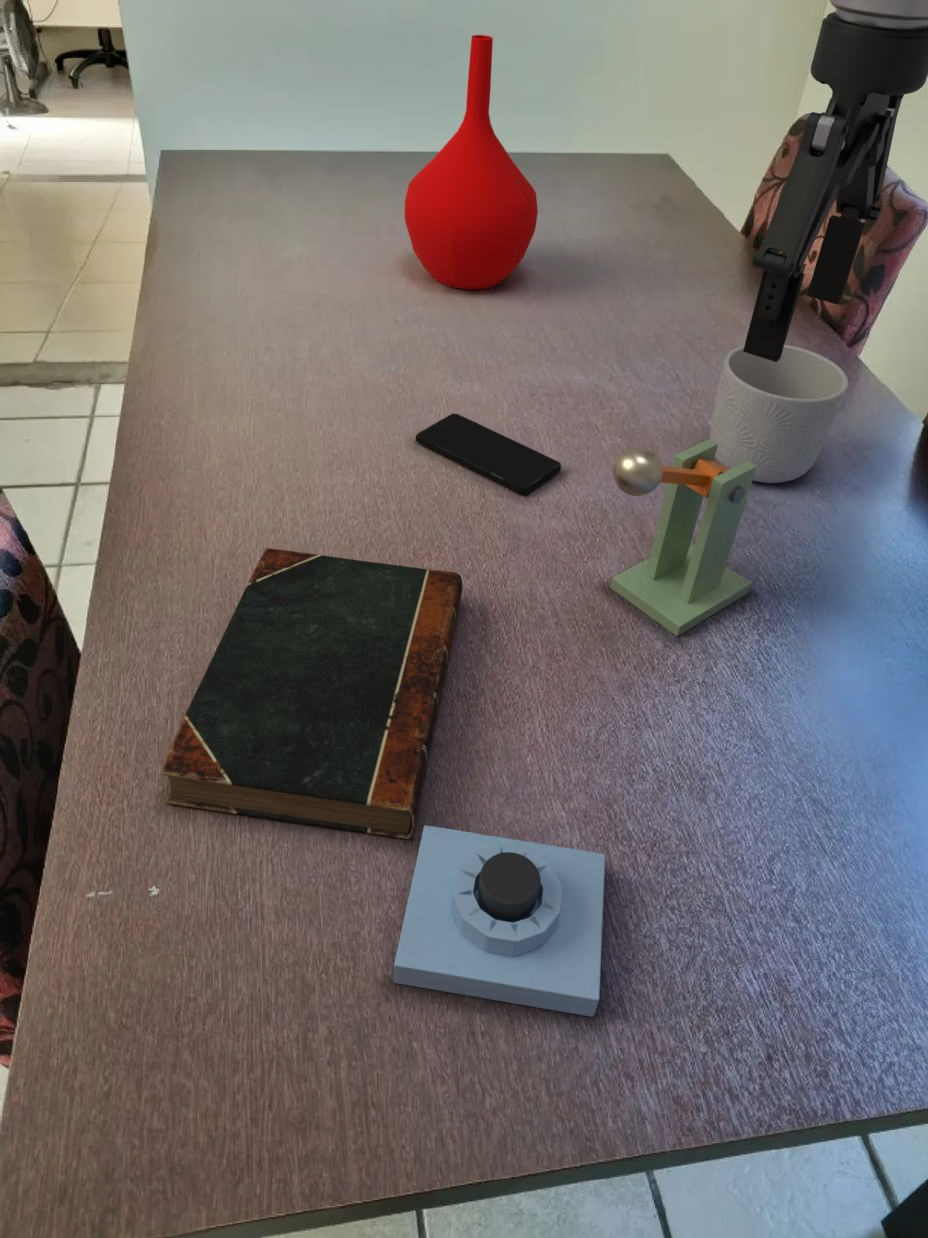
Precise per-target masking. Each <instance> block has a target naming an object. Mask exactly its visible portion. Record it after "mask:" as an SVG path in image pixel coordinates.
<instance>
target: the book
mask: <svg viewBox="0 0 928 1238" xmlns="http://www.w3.org/2000/svg"><path fill="white" fill-rule="evenodd" d="M462 593H463V579H462V576H461V575H460V574H459V573H458V572H455V571H447V570H446V571H445V570H436V569H429V568H422V567H421V568H420V567H413V566H405V565H397V564H389V563H381V562H374V561H366V560H359V559H352V558H346V557H345V558H344V557H338V556H337V557H336V556H330V555H322V554H315V553H307V552H301V551H294V550H293V551H292V550H286V549H280V548H279V549H278V548H271V547H270V548H269V547H267V548H264V550H263V552H262V554H261V556H260V558H259V560H258V562H257V563H256V565H255V568H254V569H253V572H252V574H251V575H250V578H249V581H248V582H247V585H246V587H245V589H244V591H243V593H242V595H241V597H240V599H239V602H238V603H237V606H236V607H235V609H234V612H233V613H232V616H231V618H230V620H229V622H228V624H227V626H226V628H225V630H224V633H223V635H222V636H221V639H220V641H219V643H218V645H217V647H216V649H215V651H214V653H213V656H212V658H211V660H210V662H209V664H208V666H207V669H206V670H205V672H204V675H203V676H202V679H201V681H200V683H199V685H198V687H197V689H196V691H195V693H194V696H192V697H193V698H192V699H191V702H190V703H189V706H188V708H187V710H186V712H185V714H184V715H183V716H184V717H183V719H182V721H181V722H180V725H179V727H178V729H177V731H176V733H175V735H174V737H173V739H172V741H171V744H170V746H169V748H168V751H167V752H166V755H165V758H164V761H163V763H162V765H161V768H160V770H159V775H160V776H164V777H167V778H168V780H169V787H170V788H169V789H170V790H169V792H168V794H167V797H166V799H165V801H164V803H165V804H167V805H175V806H181V807H182V806H183V807H189V808H195V809H203V810H208V811H214V812H215V811H216V812H222V813H227V814H228V813H229V814H235V815H241V816H249V817H254V818H261V819H262V818H263V819H269V820H274V821H281V822H288V823H294V824H303V825H311V826H317V827H324V828H330V829H337V830H345V831H353V832H358V833H366V834H372V835H379V836H385V837H389V838H390V837H391V838H395V839H406V840H409V839H411V838H412V836H413V833H414V829H415V825H416V820H417V814H418V808H419V805H420V799H421V795H422V789H423V786H424V780H425V776H426V771H427V766H428V760H429V756H430V752H431V747H432V741H433V738H434V737H433V736H434V732H435V726H436V722H437V717H438V713H439V709H440V703H441V698H442V693H443V688H444V685H445V680H446V674H447V669H448V663H449V659H450V654H451V649H452V645H453V644H452V643H453V638H454V633H455V629H456V624H457V619H458V614H459V609H460V604H461V599H462Z"/></svg>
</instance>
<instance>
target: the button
mask: <svg viewBox="0 0 928 1238" xmlns="http://www.w3.org/2000/svg"><path fill="white" fill-rule="evenodd" d="M539 888H540V874H539V871H538V869H537V868H536V866H535V865H534V863H533V862H532V861H531V860H529V859H528V858H526V857H525V856H523V855H520V854H517V853H512V852H505V853H499V854H496V855H494V856H492V857H491V858H489V859H488V860H487V861H486V862H485V864H484V865H483V867H482V869H481V873H480V881H479V889H478V895H479V899H480V902H481V904H482V905H483V907H484V908H485V909H486V910H487V911H488V912H489V913H490V914H491V915H493V916H495V917H497V918H500V919H504V920H516V919H520V918H522V917H524V916H526V915H527V914H529V913H530V912H531V911H532V910H533V908H534V907H535V905H536V902H537V898H538V893H539Z"/></svg>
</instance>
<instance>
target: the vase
mask: <svg viewBox="0 0 928 1238" xmlns="http://www.w3.org/2000/svg"><path fill="white" fill-rule="evenodd" d="M493 41H494V38H493V36H490V35H486V34H474V35H473V34H472V35H471V37H470V50H469V64H468V75H467V86H466V87H467V88H466V104H465V106H466V107H465V113H464V116H463V119H462V122H461V124H460V126H459V128H458V129H457V131H456V132H455V133H454V134H453V135H452V137H451V138H449V140H448V141H447V143H445V145H444V146H443V147H442V148H441V149H440V150H439V152H438V153H436V155H435V156H434V157H433V158H432V159H431V160H430V161H428V163H427V164H426V165H425V166H424V167H423V168H422V169H420V170H419V172H418V173H417V174H416V175H414V177H412V179H411V180H410V182H409V183H408V186H407V190H406V195H405V199H404V222H405V225H406V226H405V227H406V230H407V232H408V236H409V239H410V243H411V246H412V250H413V252H414V254H415V255H416V257H417V259H418V261H419V262H420V264H421V266H422V267H423V269H425V270H426V271H427V272H428V273H429V275H430V276H431V277H432V278H433V279H434V280H435V281H437V282H438V283H440V284H441V285H445V286H447V287H450V288H455V289H460V290H461V289H462V290H483V289H484V290H485V289H488V288H492V287H494V286H497V285H499V284H500V283H502V281H504V280H506V278H508V277H509V276H510V275H511V274H512V273H513V272H514V270H515V269H516V268H517V267H518V265H519V264H520V262H521V261H522V260H523V259H524V257H525V254H526V253H527V250H528V248H529V246H530V244H531V241H532V239H533V237H534V234H535V232H536V229H537V222H538V213H539V209H538V199H537V193H536V190H535V188H534V187H533V186H532V184H531V182H529V180H528V179H527V178H526V176H525V175H524V173H522V171H521V170H520V169H519V167H518V166H517V164H516V163H515V162H514V160H513V159H512V157H511V156H510V155H509V153H508V152H507V150H506V149H505V147H504V145H503V144H502V143H501V141H500V140H499V138H498V137H497V135H496V134H495V131H494V128H493V126H492V123H491V118H490V102H491V101H490V100H491V84H492V64H493V62H492V61H493V43H494V42H493Z"/></svg>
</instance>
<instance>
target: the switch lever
mask: <svg viewBox="0 0 928 1238" xmlns="http://www.w3.org/2000/svg"><path fill="white" fill-rule="evenodd" d="M728 470H730V469H728V468H726V467H725V466H723V465H721V464H720V463H719V462H718V461H717V460H714V461H710V460H702V459H699V460H698V462H697V464H696V466H695V468H694V469H687V468H678V467H672V466H669V465H663V463H662V461H661V458H660V457H659V455H658V454H657V452H655V451H654V450H652V449H650V448H649V447H645V446H632V447H630V448H627V449H625V450H623V451H622V452H621V453H620V454H619V455H618V457H617V458H616V459H615V462H614V464H613V468H612V472H613V473H612V474H613V475H612V476H613V480H614V482H615V484H616V486H617V487H618V489H619V490H621V491H622V492H623V493H624V494H627V495H629V496H632V497H642V496H646V495H648V494H650V493H652V492H653V491H655V490H656V489H657V487H658V486H659V485H660V483H663V484H668V483H673V484H683V485H686V486H688V487H689V488H691V489H692V490H694V491H696V492H697V493H699V494H701V495H702V496H704V497H703V498H706V499H708V495H709V492H710V488H711V485H712V481H713V478H714V477H716V476H718V475H720V474H722V473H724V472H726V471H728Z"/></svg>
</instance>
